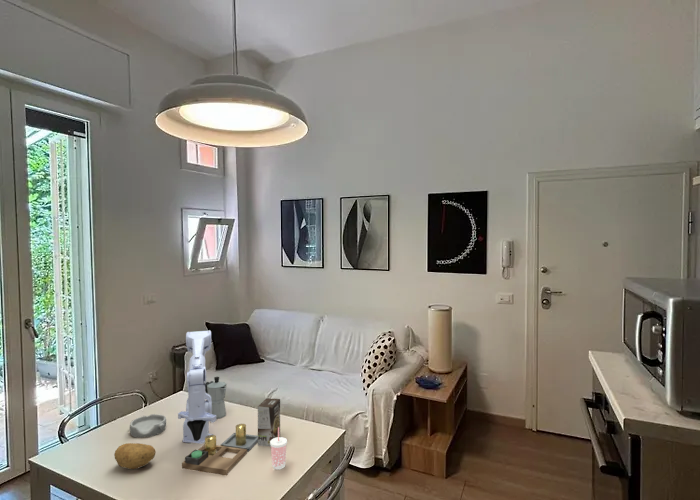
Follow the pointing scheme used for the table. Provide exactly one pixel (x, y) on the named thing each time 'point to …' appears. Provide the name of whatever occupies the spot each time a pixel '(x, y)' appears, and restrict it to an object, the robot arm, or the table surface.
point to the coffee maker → (217, 397)
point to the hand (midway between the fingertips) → (197, 439)
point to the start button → (196, 454)
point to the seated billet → (210, 444)
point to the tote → (250, 442)
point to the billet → (240, 434)
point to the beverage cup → (278, 451)
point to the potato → (134, 455)
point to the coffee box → (268, 421)
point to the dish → (147, 425)
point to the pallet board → (214, 460)
